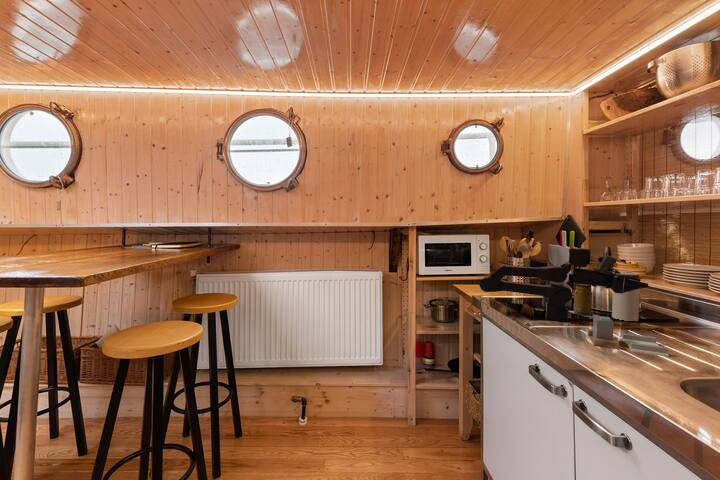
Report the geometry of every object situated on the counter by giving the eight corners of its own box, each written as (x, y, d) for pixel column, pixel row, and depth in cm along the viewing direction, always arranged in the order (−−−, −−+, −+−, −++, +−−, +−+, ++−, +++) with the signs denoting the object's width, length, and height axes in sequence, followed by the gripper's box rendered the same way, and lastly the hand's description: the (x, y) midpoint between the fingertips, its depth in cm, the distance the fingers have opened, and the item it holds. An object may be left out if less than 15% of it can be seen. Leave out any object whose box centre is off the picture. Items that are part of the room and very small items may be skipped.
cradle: (632, 352, 95) (632, 344, 95) (621, 339, 106) (621, 332, 106) (668, 357, 91) (669, 349, 91) (653, 343, 102) (653, 336, 102)
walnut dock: (594, 346, 99) (594, 340, 99) (587, 334, 110) (587, 328, 110) (619, 350, 96) (619, 343, 96) (609, 337, 107) (609, 331, 107)
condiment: (582, 310, 139) (583, 282, 138) (600, 316, 131) (602, 286, 130) (567, 311, 138) (568, 283, 137) (585, 317, 129) (587, 287, 129)
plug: (596, 343, 101) (597, 317, 101) (592, 337, 106) (593, 312, 106) (612, 345, 99) (613, 319, 99) (607, 339, 105) (609, 314, 104)
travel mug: (630, 323, 122) (633, 274, 121) (607, 317, 130) (609, 271, 129) (642, 320, 126) (645, 273, 125) (619, 315, 133) (621, 270, 132)
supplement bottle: (554, 309, 141) (555, 281, 140) (538, 305, 147) (540, 278, 146) (563, 307, 144) (565, 280, 143) (548, 304, 150) (549, 277, 149)
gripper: (595, 257, 111) (655, 262, 104) (587, 252, 128) (639, 256, 121) (592, 290, 112) (651, 297, 105) (584, 281, 129) (635, 286, 121)
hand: (644, 282), depth 113 cm, fingers open, 9 cm apart
